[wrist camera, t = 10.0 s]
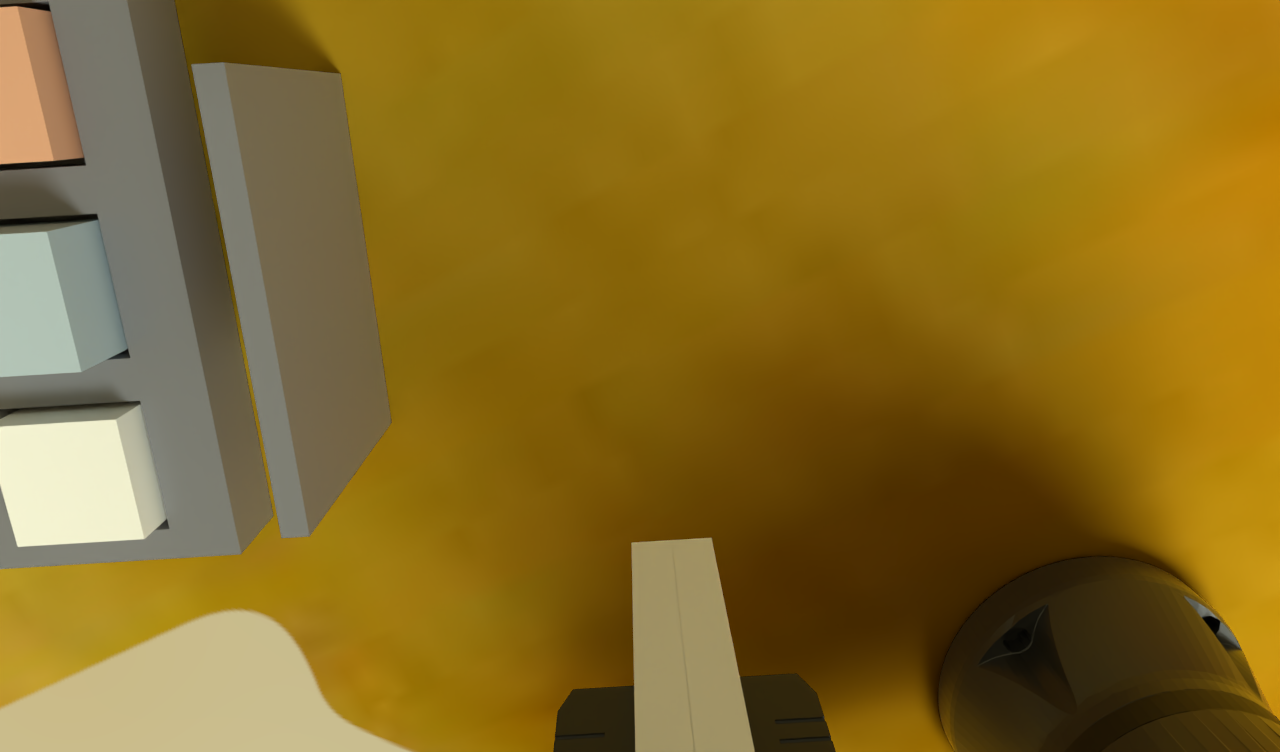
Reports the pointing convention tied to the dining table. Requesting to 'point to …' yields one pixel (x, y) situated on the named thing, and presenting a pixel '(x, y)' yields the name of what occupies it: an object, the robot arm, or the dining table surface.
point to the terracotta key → (34, 91)
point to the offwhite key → (79, 474)
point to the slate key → (56, 299)
